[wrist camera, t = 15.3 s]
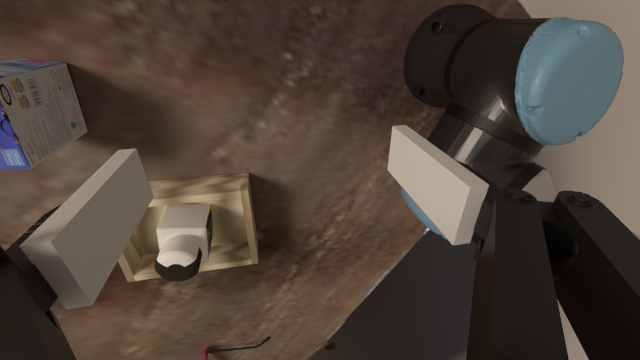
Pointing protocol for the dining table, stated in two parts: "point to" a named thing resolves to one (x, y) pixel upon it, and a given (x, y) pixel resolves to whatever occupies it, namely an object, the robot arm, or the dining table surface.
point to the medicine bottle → (183, 240)
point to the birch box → (227, 219)
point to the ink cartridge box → (36, 112)
